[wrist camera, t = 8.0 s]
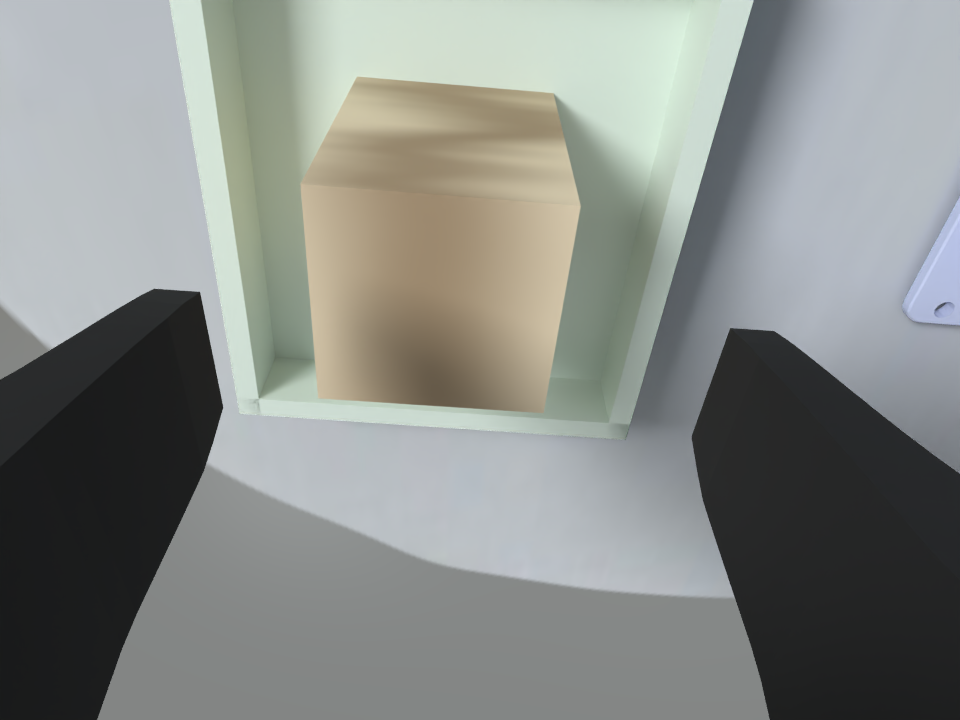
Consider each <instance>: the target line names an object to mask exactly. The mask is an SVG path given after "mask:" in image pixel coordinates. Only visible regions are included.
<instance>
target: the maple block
mask: <svg viewBox="0 0 960 720" xmlns="http://www.w3.org/2000/svg"><path fill="white" fill-rule="evenodd" d="M300 185H301V197H302V209H303V222H304V234H305V246H306V258H307V270H308V282H309V294H310V306H311V318H312V330H313V343H314V355H315V367H316V379H317V391H318V398H320V399H335V400H350V401H366V402H381V403H396V404H411V405H427V406H442V407H457V408H472V409H487V410H503V411H518V412H533V413H544V408H545V402H546V397H547V391H548V385H549V380H550V374H551V369H552V363H553V358H554V352H555V347H556V341H557V336H558V330H559V324H560V319H561V313H562V308H563V302H564V297H565V291H566V286H567V280H568V274H569V269H570V263H571V258H572V252H573V247H574V241H575V236H576V230H577V224H578V219H579V213H580V208H581V205H580V200H579V196H578V192H577V188H576V184H575V180H574V176H573V172H572V168H571V163H570V159H569V155H568V151H567V147H566V143H565V139H564V135H563V131H562V126H561V122H560V118H559V114H558V110H557V106H556V102H555V98H554V94H553V93H546V92H534V91H522V90H511V89H499V88H487V87H475V86H463V85H451V84H439V83H428V82H416V81H404V80H392V79H380V78H368V77H357V78H356V79H355V81H354V83H353V85H352V87H351V89H350V91H349V93H348V95H347V97H346V98H345V100H344V102H343V104H342V106H341V108H340V110H339V112H338V114H337V116H336V117H335V119H334V121H333V123H332V125H331V127H330V129H329V131H328V133H327V135H326V136H325V138H324V140H323V142H322V144H321V146H320V148H319V150H318V152H317V154H316V155H315V157H314V159H313V161H312V163H311V165H310V167H309V169H308V171H307V173H306V174H305V176H304V178H303V180H302V182H301V184H300Z"/></svg>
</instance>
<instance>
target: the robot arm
mask: <svg viewBox="0 0 960 720" xmlns="http://www.w3.org/2000/svg"><path fill="white" fill-rule="evenodd" d="M945 302H946V304H945V305H944V306H943V307H942V308H940V309H938V310H935V309H936V308H937V307H938V306H939V305H940V304H942V303H945ZM902 308H903V312H904V313H905V314H906V315H907V316H908V317H909V318H910V319H911V320H912V321H915V322H920V323H933V324H946V325H959V326H960V197H959V199H958V201H957V203H956V205H955V206H954V208H953V210H952V212H951V214H950V216H949V218H948V219H947V221H946V223H945V225H944V227H943V229H942V231H941V232H940V234H939V236H938V238H937V240H936V242H935V244H934V246H933V247H932V249H931V251H930V253H929V255H928V257H927V259H926V260H925V262H924V264H923V266H922V268H921V270H920V272H919V273H918V275H917V277H916V279H915V281H914V283H913V285H912V286H911V288H910V290H909V292H908V294H907V296H906V298H905V299H904V302H903V305H902ZM222 410H223V404H222V399H221V394H220V389H219V384H218V379H217V374H216V369H215V364H214V359H213V355H212V350H211V345H210V340H209V335H208V330H207V325H206V320H205V315H204V310H203V305H202V300H201V295H200V292H192V291H177V290H163V289H153V290H151V291H149V292H147V293H145V294H143V295H141V296H139V297H137V298H136V299H134V300H132V301H130V302H129V303H127V304H125V305H124V306H122V307H120V308H119V309H117V310H115V311H114V312H112V313H110V314H109V315H107V316H105V317H104V318H102V319H100V320H99V321H97V322H96V323H94V324H92V325H91V326H89V327H87V328H86V329H84V330H83V331H81V332H79V333H78V334H76V335H75V336H73V337H71V338H70V339H68V340H66V341H65V342H63V343H61V344H60V345H58V346H56V347H55V348H53V349H51V350H50V351H48V352H47V353H45V354H43V355H42V356H40V357H38V358H37V359H35V360H33V361H32V362H30V363H29V364H27V365H25V366H24V367H22V368H20V369H18V370H17V371H15V372H14V373H12V374H10V375H8V376H6V377H4V378H3V379H1V380H0V720H97V718H98V715H99V713H100V710H101V707H102V704H103V701H104V698H105V695H106V693H107V690H108V687H109V684H110V681H111V678H112V676H113V673H114V670H115V667H116V664H117V661H118V658H119V656H120V653H121V650H122V647H123V645H124V643H125V640H126V638H127V636H128V633H129V631H130V629H131V626H132V624H133V621H134V619H135V617H136V614H137V612H138V610H139V608H140V606H141V604H142V602H143V599H144V597H145V595H146V593H147V591H148V589H149V587H150V584H151V582H152V580H153V578H154V576H155V574H156V572H157V570H158V568H159V566H160V564H161V561H162V559H163V557H164V555H165V553H166V551H167V549H168V547H169V545H170V542H171V540H172V538H173V536H174V534H175V532H176V530H177V527H178V525H179V524H180V521H181V519H182V517H183V515H184V513H185V511H186V508H187V506H188V504H189V502H190V500H191V497H192V495H193V493H194V491H195V489H196V487H197V485H198V482H199V480H200V478H201V476H202V473H203V471H204V469H205V466H206V462H207V459H208V456H209V453H210V450H211V447H212V444H213V441H214V437H215V434H216V430H217V427H218V423H219V420H220V417H221V413H222ZM692 442H693V448H694V454H695V460H696V466H697V472H698V477H699V482H700V487H701V492H702V497H703V502H704V505H705V508H706V511H707V514H708V518H709V521H710V524H711V527H712V530H713V533H714V536H715V539H716V542H717V545H718V548H719V551H720V554H721V557H722V560H723V563H724V566H725V569H726V572H727V575H728V578H729V581H730V584H731V587H732V590H733V593H734V596H735V599H736V602H737V605H738V608H739V611H740V614H741V617H742V620H743V623H744V626H745V629H746V632H747V635H748V638H749V641H750V644H751V647H752V650H753V654H754V657H755V661H756V664H757V668H758V671H759V675H760V678H761V682H762V687H763V691H764V696H765V700H766V704H767V709H768V713H769V718H770V720H960V474H959V473H958V472H956V471H955V470H954V469H952V468H951V467H949V466H948V465H947V464H945V463H944V462H942V461H941V460H940V459H938V458H937V457H935V456H934V455H933V454H931V453H930V452H929V451H927V450H926V449H925V448H924V447H922V446H921V445H920V444H918V443H917V442H916V441H914V440H913V439H912V438H910V437H909V436H908V435H906V434H905V433H904V432H903V431H901V430H900V429H899V428H897V427H896V426H895V425H894V424H892V423H891V422H890V421H888V420H887V419H886V418H885V417H883V416H882V415H881V414H880V413H878V412H877V411H876V410H875V409H873V408H872V407H871V406H870V405H868V404H867V403H866V402H865V401H863V400H862V399H861V398H860V397H858V396H857V395H856V394H855V393H853V392H852V391H851V390H850V389H848V388H847V387H846V386H845V385H844V384H842V383H841V382H840V381H839V380H837V379H836V378H835V377H834V376H832V375H831V374H830V373H829V372H828V371H826V370H825V369H824V368H823V367H821V366H820V365H819V364H818V363H816V362H815V361H814V360H813V359H811V358H810V357H809V356H807V355H806V354H805V353H804V352H802V351H801V350H800V349H798V348H797V347H796V346H795V345H793V344H792V343H790V342H789V341H788V340H786V339H785V338H783V337H782V336H781V335H779V334H778V333H776V332H775V331H763V330H749V329H734V328H730V331H729V333H728V336H727V339H726V342H725V345H724V347H723V350H722V353H721V356H720V359H719V362H718V364H717V367H716V370H715V373H714V376H713V378H712V381H711V384H710V387H709V390H708V392H707V395H706V398H705V401H704V404H703V406H702V409H701V412H700V415H699V418H698V420H697V423H696V426H695V429H694V432H693V434H692Z"/></svg>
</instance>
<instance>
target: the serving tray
mask: <svg viewBox="0 0 960 720" xmlns="http://www.w3.org/2000/svg"><path fill="white" fill-rule="evenodd" d="M753 1H754V0H169V2H170V8H171V14H172V20H173V26H174V32H175V38H176V44H177V49H178V55H179V61H180V67H181V73H182V79H183V85H184V91H185V96H186V102H187V108H188V114H189V120H190V126H191V132H192V138H193V143H194V149H195V155H196V161H197V167H198V173H199V179H200V185H201V190H202V196H203V202H204V208H205V214H206V220H207V226H208V232H209V237H210V243H211V249H212V255H213V261H214V267H215V273H216V279H217V284H218V290H219V296H220V302H221V308H222V314H223V320H224V326H225V331H226V337H227V343H228V349H229V355H230V361H231V367H232V373H233V378H234V384H235V390H236V396H237V402H238V408H239V414H250V415H265V416H280V417H295V418H309V419H324V420H339V421H353V422H368V423H383V424H398V425H412V426H427V427H442V428H457V429H471V430H486V431H501V432H515V433H530V434H545V435H560V436H574V437H589V438H604V439H619V440H626V437H627V433H628V430H629V426H630V423H631V419H632V416H633V413H634V409H635V406H636V402H637V399H638V395H639V392H640V388H641V385H642V382H643V378H644V375H645V371H646V368H647V364H648V361H649V358H650V354H651V351H652V347H653V344H654V340H655V337H656V334H657V330H658V327H659V323H660V320H661V316H662V313H663V310H664V306H665V303H666V299H667V296H668V292H669V289H670V286H671V282H672V279H673V275H674V272H675V268H676V265H677V262H678V258H679V255H680V251H681V248H682V244H683V241H684V238H685V234H686V231H687V227H688V224H689V220H690V217H691V214H692V210H693V207H694V203H695V200H696V196H697V193H698V189H699V186H700V183H701V179H702V176H703V172H704V169H705V165H706V162H707V159H708V155H709V152H710V148H711V145H712V141H713V138H714V135H715V131H716V128H717V124H718V121H719V117H720V114H721V111H722V107H723V104H724V100H725V97H726V93H727V90H728V87H729V83H730V80H731V76H732V73H733V69H734V66H735V63H736V59H737V56H738V52H739V49H740V45H741V42H742V39H743V35H744V32H745V28H746V25H747V21H748V18H749V15H750V11H751V8H752V4H753ZM357 77H368V78H380V79H392V80H404V81H416V82H428V83H439V84H451V85H463V86H475V87H487V88H499V89H511V90H522V91H534V92H546V93H553V94H554V98H555V102H556V106H557V110H558V114H559V118H560V122H561V126H562V131H563V135H564V139H565V143H566V147H567V151H568V155H569V159H570V163H571V168H572V172H573V176H574V180H575V184H576V188H577V192H578V196H579V200H580V205H581V208H580V213H579V219H578V224H577V230H576V236H575V241H574V247H573V252H572V258H571V263H570V269H569V274H568V280H567V286H566V291H565V297H564V302H563V308H562V313H561V319H560V324H559V330H558V336H557V341H556V347H555V352H554V358H553V363H552V369H551V374H550V380H549V385H548V391H547V397H546V402H545V408H544V413H533V412H518V411H503V410H487V409H472V408H457V407H442V406H427V405H411V404H396V403H381V402H366V401H350V400H335V399H320V398H318V391H317V379H316V367H315V355H314V343H313V330H312V318H311V306H310V294H309V282H308V270H307V258H306V246H305V234H304V222H303V209H302V197H301V185H300V184H301V182H302V180H303V178H304V176H305V174H306V173H307V171H308V169H309V167H310V165H311V163H312V161H313V159H314V157H315V155H316V154H317V152H318V150H319V148H320V146H321V144H322V142H323V140H324V138H325V136H326V135H327V133H328V131H329V129H330V127H331V125H332V123H333V121H334V119H335V117H336V116H337V114H338V112H339V110H340V108H341V106H342V104H343V102H344V100H345V98H346V97H347V95H348V93H349V91H350V89H351V87H352V85H353V83H354V81H355V79H356V78H357Z"/></svg>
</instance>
